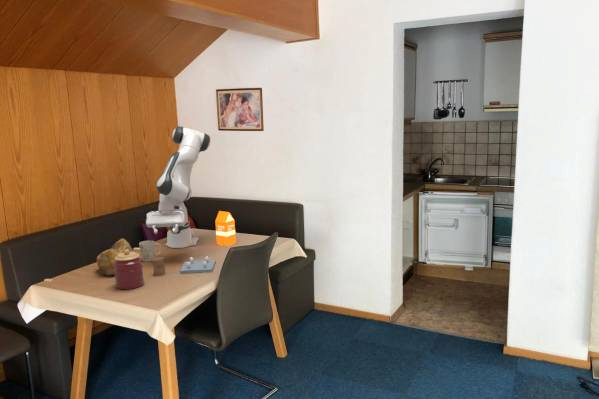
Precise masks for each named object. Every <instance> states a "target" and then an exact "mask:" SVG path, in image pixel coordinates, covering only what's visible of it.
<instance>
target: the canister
mask: <svg viewBox="0 0 599 399" xmlns="http://www.w3.org/2000/svg"><path fill="white" fill-rule="evenodd" d="M142 262H143V259H142V257H140V254H139V253H138V252H136V251H133V252H130V251H129V250H128V249H126V250H124V252H123V253H120V254H118V255H117V256H116V257H115V261H114V262H113V264H114V265H115V269H114V272H115V275H114V280H115V282H114V283H115V286H116V288H117V289H119V290H132V289H136V288H139V287H141V286H143V285H144V284H145V278H144V271H143V265H142Z"/></svg>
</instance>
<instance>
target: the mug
mask: <svg viewBox="0 0 599 399" xmlns="http://www.w3.org/2000/svg"><path fill="white" fill-rule="evenodd" d="M138 246H139V250H140V254H141V259H142V262H153V259H154V258H155V256H158V255H159V254H161V252H162V245H161V244H160V243H158V242H155V240H143V241H140V242H139V243H138ZM157 246H158V249H159V250H158V252H157V253H155V250H156V249H155V247H157Z"/></svg>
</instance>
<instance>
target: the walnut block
mask: <svg viewBox="0 0 599 399" xmlns="http://www.w3.org/2000/svg"><path fill="white" fill-rule="evenodd" d="M164 258H165V257H164V256H163V257H154V259H153V261H152V267H153V270H152V271H153V276H154V277H155V276H157V277H158V276H164V275H165V274H166V268H165V259H164Z"/></svg>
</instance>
